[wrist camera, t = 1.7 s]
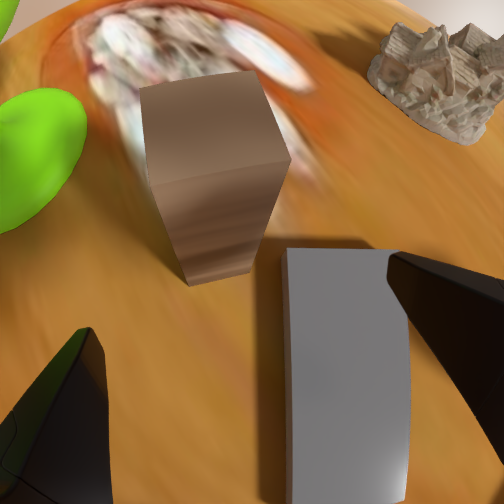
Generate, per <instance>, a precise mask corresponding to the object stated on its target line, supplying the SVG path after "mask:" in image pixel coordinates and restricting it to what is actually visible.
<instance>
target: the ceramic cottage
mask: <svg viewBox="0 0 504 504" xmlns="http://www.w3.org/2000/svg"><path fill="white" fill-rule="evenodd" d="M380 46H381V48H380V51H381V52H382V53H381V54H380V55H376V56H375V57H374V58H373V60H371V66H370V67H369V69H368V72H367V78H368V80H369V82H370V84H371V85H372V86H374V88H375V89H376V90H377V91H380V93H381V94H382V95H383V94H384V95H386V98H387V99H388V100H389V101H391V102H392V103H393V104H395V105H397V107H398V108H400V109H401V110H403V112H404V113H405V114H407V115H409V118H411V119H412V120H414V121H415V122H416V123H418V124H419V125H421V126H423V127H425V128H427V129H429V130H430V131H432V132H435V133H437V134H440V135H441V136H442V137H444V138H446V139H448V140H450V141H453V142H458V144H461V145H471V144H473V143H475V142H477V141H478V140H479V139H480V137H481V136H482V135H483V134H484V132H485V130H486V127H485V123H486V122H487V121H488V120H489V118H490V117H491V116H492V115H493V112H494V108H495V106H496V105H497V104H498V103H499V102H500V101H502V100H503V99H504V34H503V35H502V36H501V37H500V38H499V39H498V40H495V39H494V38H492V37H490V36H489V35H487V34H486V33H485V32H483V31H482V30H480V29H479V28H478V27H476V26H475V25H474V24H472V23H470V24H468V25H466V26H465V27H464V28H463V29H462V30H461V31H459V32H458V33H455V34H453V35H451V36H450V38H449V42H448V35H447V33H446V27H445V25H441V26H440V27H436V28H435V29H434V28H433V27H430V28H429V29H428V31H427V32H424V33H417V32H415V31H413V30H412V29H410V28H408V27H407V26H405V25H404V24H403V23H402V22H399V23H396V24H395V25H394V26H393V27H392V29H391V31H390V34H389V35H388V36H386V37H384V39H382V42H381V43H380Z"/></svg>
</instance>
